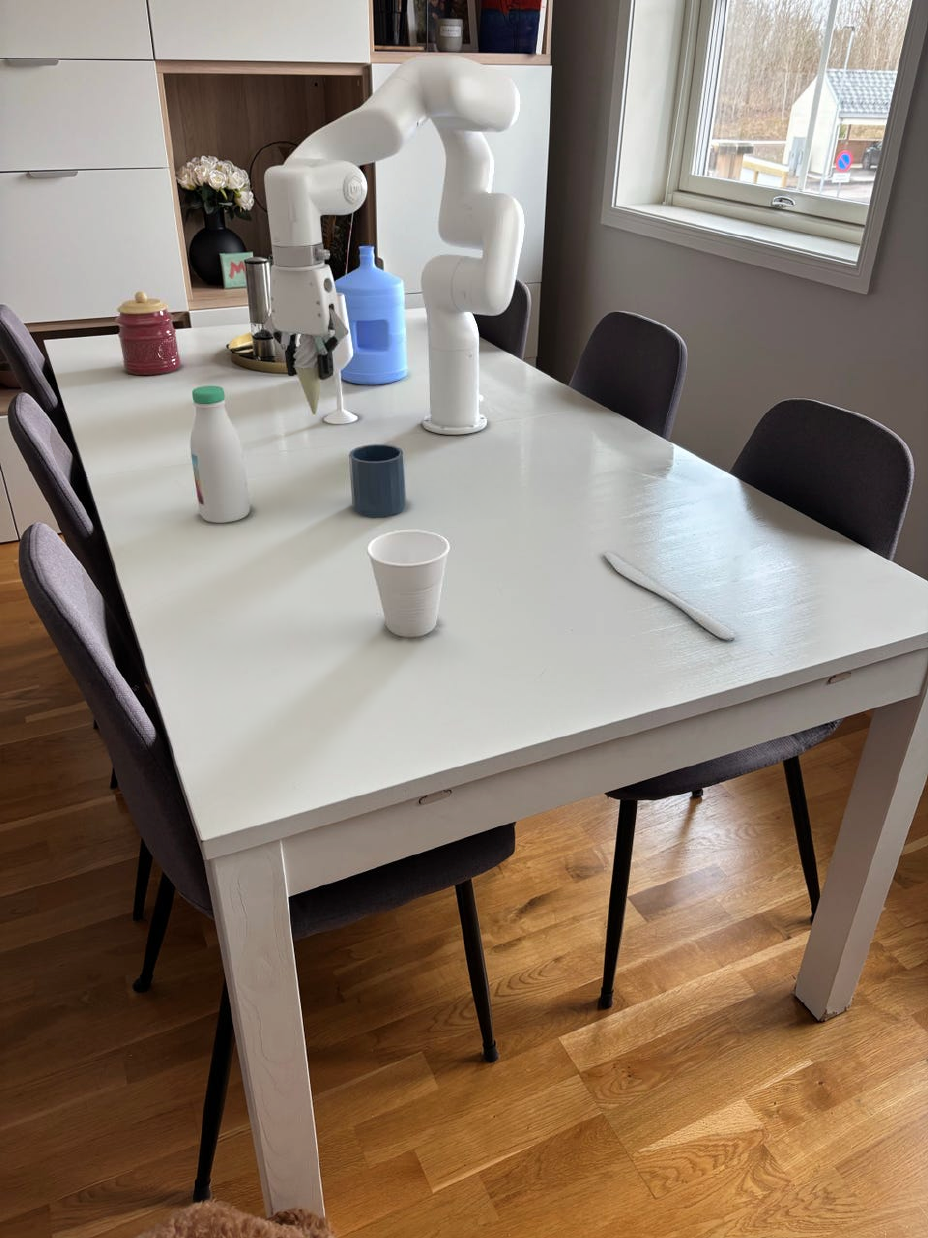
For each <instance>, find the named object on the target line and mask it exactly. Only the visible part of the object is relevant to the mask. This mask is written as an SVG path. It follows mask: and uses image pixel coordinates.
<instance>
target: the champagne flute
mask: <svg viewBox="0 0 928 1238" xmlns="http://www.w3.org/2000/svg"><path fill="white" fill-rule="evenodd" d="M337 299H338V305H339V313H340V320H341V321H342V322H343V324H344V325H345V326H346V328H347V329H348V331H349V333H348V335H347V336H346V337H345V338H343V339H342V340H341V341H340V343H339V344H338V345H337V346H336V347H335V350H334V351H332V356H333V367H334V371H333V375H334V387H335V398H336V399H335V400H336V410H334V411H333V412H331V413H330V414H328V415H327V416H325V417H324V418H323V420H324V422H326V423H329V424H334V425H344V424H349V423H353V422H355V421H357V420H358V416H356V415H355V414H353V413H351V412H349V411H348V410H346V409H344V404H343V403H344V402H343V392H342V391H343V390H342V378H341V375H340V370H342V369H343V368H344V367H345V366H346V365H347V364H348V363H349V362H350V360H351V358H352V356H353V349H352V342H351V336H350V330H349V323H348V317H347V311H346V304H345V298H344V294H342V293H337ZM330 333H331V336H333V335H334V334H335V330H330Z"/></svg>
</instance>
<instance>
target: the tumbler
mask: <svg viewBox="0 0 928 1238" xmlns="http://www.w3.org/2000/svg"><path fill="white" fill-rule="evenodd" d="M348 465H349V476H350V477H349V479H350V491H351V504H352V509H353V511H354V512H355V514H358V515H359V516H362V517H367V518H387V517H392V516H395V515H399V514H400V513H402V512H403V511H404V510H405V509H406V507H407V504H406V503H407V497H406V475H405V474H406V473H405V472H406V471H405V451H404V450H403V449H402V448H401V447H398V446H396V445H393V444H384V443H383V444H381V443H378V444H377V443H374V444H373V443H371V444H366V445H365V444H364V445H361V446H357V447H355V448H353V449H352V450H350V451H349V454H348Z"/></svg>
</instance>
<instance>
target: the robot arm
mask: <svg viewBox="0 0 928 1238" xmlns="http://www.w3.org/2000/svg"><path fill="white" fill-rule="evenodd" d="M520 98H521V97H520V93H519V90H518V88H517V85H516V84H515V82H514V81H513V79H512V78H511V77H510V76H508V75H506V74H505V73H503V72H501V71H499V70H496V69H493V68H491V67H489V66H486V65H484V64H482V63H480V62H478V61H475V60H472V59H470V58H467V57H464V56H460V55H454V54H453V55H418V56H413V57H410V58H408V59H405V60H404V62H402V63H401V64H400V65H399V66H397V68H396V69H395V70H394V71H393V72H392V73H391V75H389V76H388V77H387V79H385V81H383V83H382V84H381V85H380V86H379V87H377V89H376V90H375V91H374V92H373V93H372V94H371V95H370V96H369V98H368V99H367V100H366V101H365V102H364V103H363V104H362V105H360V107H358V108H356V109H354V110H352V111H350V112H348V113H346V114H344V115H342V116H340V117H339V118H337V119H335V120H334V121H332V122H330V123H328V124H326V125H324V126H322V127H321V128H319V129H317V130H316V131H314V132H313V133H311V134H310V135H309V136H307V137H306V138H305V139H304V140H303V141H302V142H301V143H300V144H299V145H298V146H297V147H296V148H295V149H294V150H293V151H292V153H291V154H289V156H288V157H287V158H286V160H285V161H284V163H283V164H282V165H274V166H270V167H268V168H267V169H266V170H265V172H264V175H263V183H264V191H265V200H266V208H267V209H266V210H267V217H268V226H269V227H268V228H269V233H270V234H269V235H270V241H271V242H270V243H271V252H272V260H273V261H272V262H273V265H271V266H270V275H269V301H270V302H269V303H270V314H269V316H268V317H267V319H266V321H265V323H264V325H263V326H264V329H266V330H267V331H268V332H269V334H271V335H272V336H273V338H274V340H275V341H276V343H278V344H279V345H280V350H281V351H283V352H284V358H285V366H286V371H287V376H288V377H294V376H296V375H297V372H296V370H295V368H294V367H293V365H294V362H295V361H296V359H295V358H294V356H293V355H294V354H295V353H296V351H295V349H296V348H297V347H298V346H297V343H298V335H301V334H304V335H314V337H315V340H316V343H317V345H318V348H319V351H320V354H319V355H317V362H318V372H319V379H320V380H322V381H324V380H328V379H329V378H331V377H332V376H333V375H334V367H333V356H332V351H334V350H335V347H336V346H337V345H338V344H339V343H340V341H341V340H342V339H343V338H345V337H346V336H347V335H348V333H349V331H348V329H347V328H346V326H345V325H344V324H343V322H342V321H341V320H340V313H339V305H338V299H337V293H336V288H335V284H334V282H335V280H334V276H333V273H332V269H331V267H330V265H329V264H326V263H325V260H329V259H330V256H331V252H330V250H329V249H325V248H324V244H323V236H322V226H321V217H322V216H325V215H327V216H328V215H329V216H345V215H349V214H353V213H354V212H356V211H357V210H359V209H360V208H361V207H362V205H364V202H365V200H366V197H367V193H368V183H367V178H366V177H365V174H364V173H363V172H362V170H361V169H360V168H359V166H363V165H368V164H372V163H377V162H379V161H383V160H386V159H388V158H390V157H393V156H395V155H396V154H398V153H400V151H401V150H402V149H403V148H404V147H405V146H406V145H407V144H408V142H409V141H410V140H411V139H412V138H413V137H414V136H415V134H417V132H418V131H419V130H420V129H421V128H422V127H423V126H424V125H425V123H427V121H428V120H429V119H430V120H431V122H432V124H433V126H434V127H435V129H436V131H437V133H438V135H439V137H440V140H441V143H442V146H443V148H444V155H445V169H444V178H443V183H442V184H443V185H442V191H441V199H440V207H439V213H438V222H437V229H438V234H439V237H440V239H441V241H442V242H444V243H445V244H447V245H449V246H451V247H455V248H462V249H470V250H478V251H482V257H475V256H469V255H461V254H460V255H459V254H439V255H437V256H434V257H432V258H431V259H430V260H428V261H427V263H426V264H425V266H424V267H423V268H422V272H421V277H420V288H421V293H422V298H423V302H424V307H425V308H424V309H425V313H426V320H427V336H428V337H427V338H428V340H427V341H428V376H429V377H428V380H429V405H430V406H429V411H430V412H429V414H427V415H425V416H424V417H423V418H422V426H423V428H424V429H425V430H427V431H429V432H431V433H435V434H440V435H441V434H442V435H449V436H451V435H452V436H453V435H455V436H456V435H467V434H473V433H476V432H477V433H478V432H479V431H482V430H483V429H485V428H486V427H487V424H488V418H487V417H486V416H485V415H484V414H482V413H480V405H481V404H482V403H483V402H484V397H483V395H482V394H480V334H479V329H478V325H477V322H476V320H475V317H474V315H482V316H492V317H493V316H494V317H495V316H499V315H502V314H503V313H504V312H505V311H506V310H507V308H508V307H509V305H510V304H511V301H512V298H513V296H514V295H513V294H514V291H515V286H516V280H517V276H518V275H517V274H518V270H519V269H518V268H519V263H520V257H521V250H522V245H523V238H524V232H525V231H524V230H525V219H524V213H523V209H522V207H521V204H520V203H519V201H518V200H517V199H516V198H515V197H514V196H512V195H510V194H507V193H501V192H492V184H493V177H494V176H493V175H494V169H495V167H494V165H495V164H494V157H493V154H492V151H491V147H490V146H489V143H488V141H487V139H486V137H485V136H484V134H483V133H501V132H505V131H507V130H509V129H510V128H511V127H512V126H513V125H514V124H515V122H516V121H517V118H518V116H519V112H520V109H521V108H520V106H521V105H520V104H521V99H520ZM473 314H474V315H473ZM330 330H335V334H334V335H333V336H331V333H330Z"/></svg>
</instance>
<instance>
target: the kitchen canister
mask: <svg viewBox="0 0 928 1238" xmlns="http://www.w3.org/2000/svg"><path fill="white" fill-rule="evenodd" d="M168 308H169V305H168V304H167V303H165V302H163V301H161V299H157V298H148V296H147V294H146V293H145V292H144V291H137V292H136V293H135V295H134V299H130V300H126V301H124V302H123V303H122V304H121V305H120V306H118V307H117V308H116V310H117V312H118V313H119V315H118V316H117V317H115V321H114V322H115V323H116V324H117V325H118V331H119V332H118V333H117V336H118V339H119V344H120V348H121V349H120V350H121V355H122V363H123V367H124V369H125V372H126V373H128V374H131V375H136V376H152V375H153V376H155V375H162V374H167V373H171V372H175V371H177V370H178V369H179V368H181V355H180V353H179V348H178V342H177V335H176V331H177V330H176V328H175V327H174V326H173V325H174V324H173V319H174V315H173V313H171V312H169V311H168Z"/></svg>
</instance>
